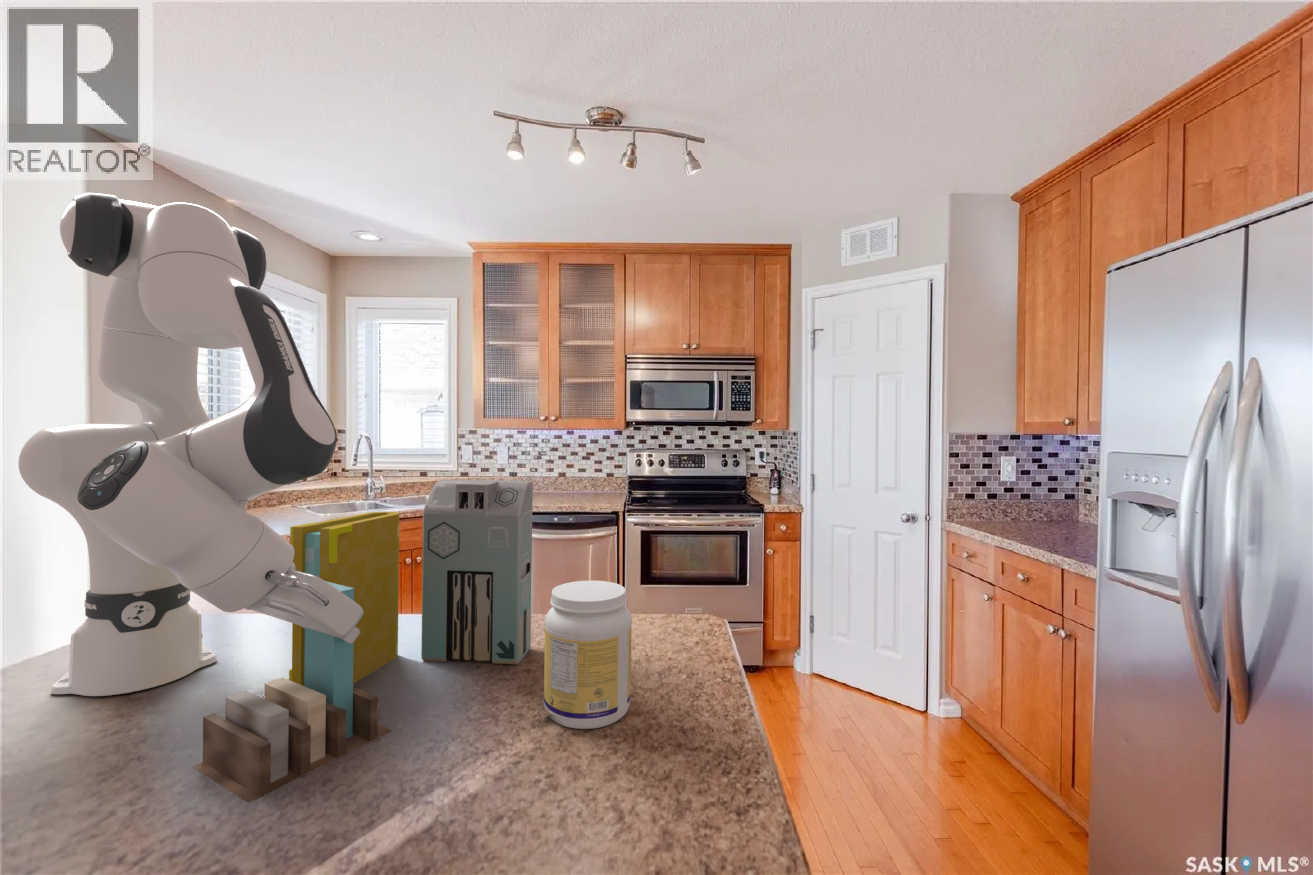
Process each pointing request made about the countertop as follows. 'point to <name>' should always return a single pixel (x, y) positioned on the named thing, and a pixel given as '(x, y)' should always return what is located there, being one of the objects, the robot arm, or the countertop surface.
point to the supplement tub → (587, 654)
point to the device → (477, 571)
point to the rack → (248, 757)
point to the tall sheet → (331, 667)
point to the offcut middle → (302, 709)
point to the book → (354, 582)
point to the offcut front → (262, 725)
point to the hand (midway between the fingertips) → (334, 631)
